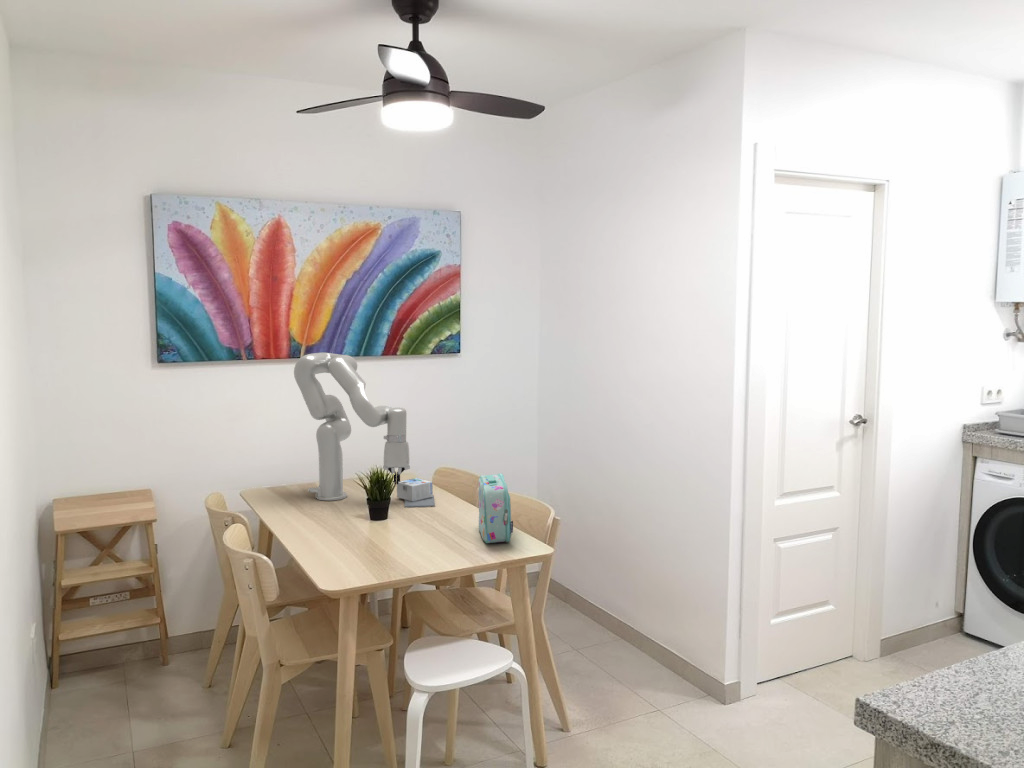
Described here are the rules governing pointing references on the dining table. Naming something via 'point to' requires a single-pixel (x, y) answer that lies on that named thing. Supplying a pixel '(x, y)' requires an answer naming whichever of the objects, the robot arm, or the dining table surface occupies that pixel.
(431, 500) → the mat
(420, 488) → the light bulb box
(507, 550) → the dining table surface
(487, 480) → the lunch box
